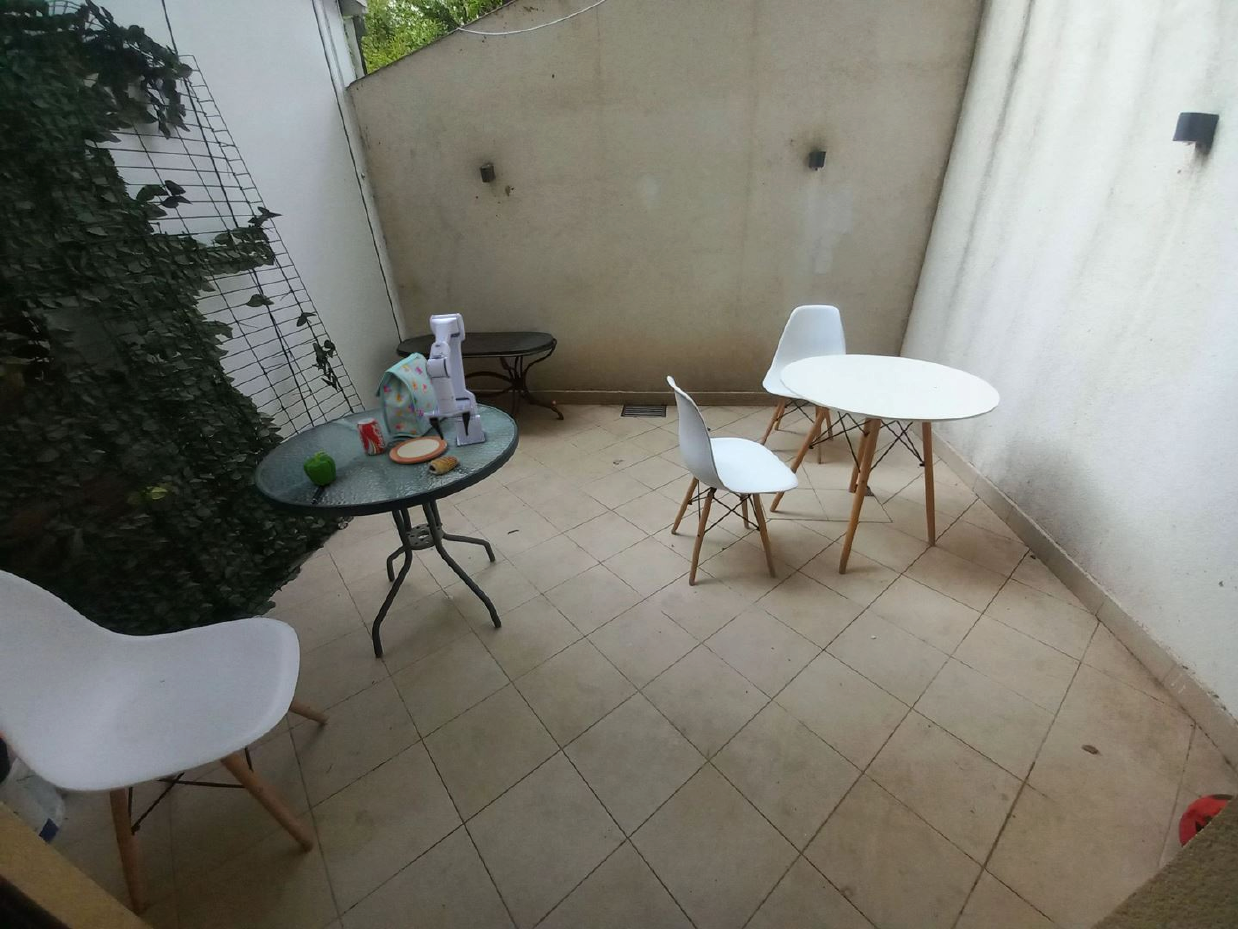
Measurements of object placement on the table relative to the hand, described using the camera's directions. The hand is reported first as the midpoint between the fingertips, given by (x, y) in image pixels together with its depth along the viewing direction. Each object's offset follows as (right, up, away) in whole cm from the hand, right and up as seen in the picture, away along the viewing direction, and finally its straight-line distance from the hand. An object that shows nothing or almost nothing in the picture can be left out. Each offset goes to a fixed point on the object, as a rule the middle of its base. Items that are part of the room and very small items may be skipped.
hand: (454, 436), depth 154 cm
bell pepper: (-41, -15, -2) cm, 43 cm away
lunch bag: (-25, +6, +33) cm, 42 cm away
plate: (-17, -5, +13) cm, 22 cm away
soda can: (-33, -4, +16) cm, 37 cm away
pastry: (-4, -11, +1) cm, 12 cm away
